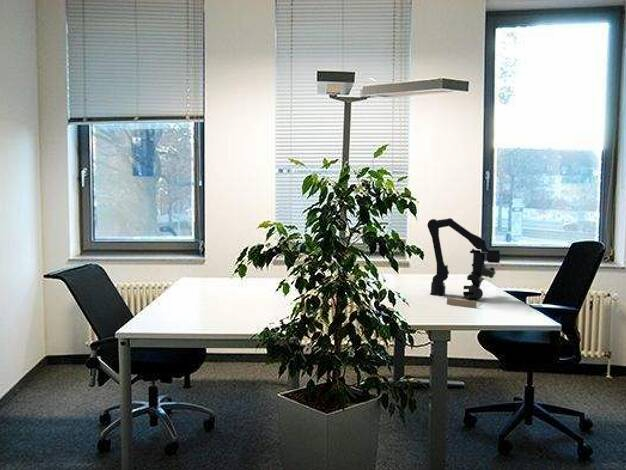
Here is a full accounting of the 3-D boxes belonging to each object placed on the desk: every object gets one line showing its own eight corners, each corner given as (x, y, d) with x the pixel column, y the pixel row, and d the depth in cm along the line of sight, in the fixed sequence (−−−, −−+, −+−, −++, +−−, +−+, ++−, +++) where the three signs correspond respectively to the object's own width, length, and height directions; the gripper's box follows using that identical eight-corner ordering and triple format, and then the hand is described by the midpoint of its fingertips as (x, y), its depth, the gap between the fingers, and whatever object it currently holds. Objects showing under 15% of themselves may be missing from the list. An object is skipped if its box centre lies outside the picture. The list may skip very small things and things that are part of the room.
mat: (446, 304, 313) (447, 298, 312) (456, 299, 326) (456, 293, 326) (475, 308, 306) (475, 301, 306) (483, 302, 319) (484, 296, 319)
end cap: (482, 301, 322) (483, 287, 321) (468, 301, 322) (469, 287, 321) (476, 297, 332) (477, 284, 331) (462, 297, 332) (463, 284, 331)
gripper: (489, 265, 320) (488, 296, 322) (498, 261, 336) (497, 291, 338) (467, 263, 325) (466, 294, 327) (477, 259, 342) (475, 288, 343)
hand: (477, 292), depth 334 cm, fingers closed
